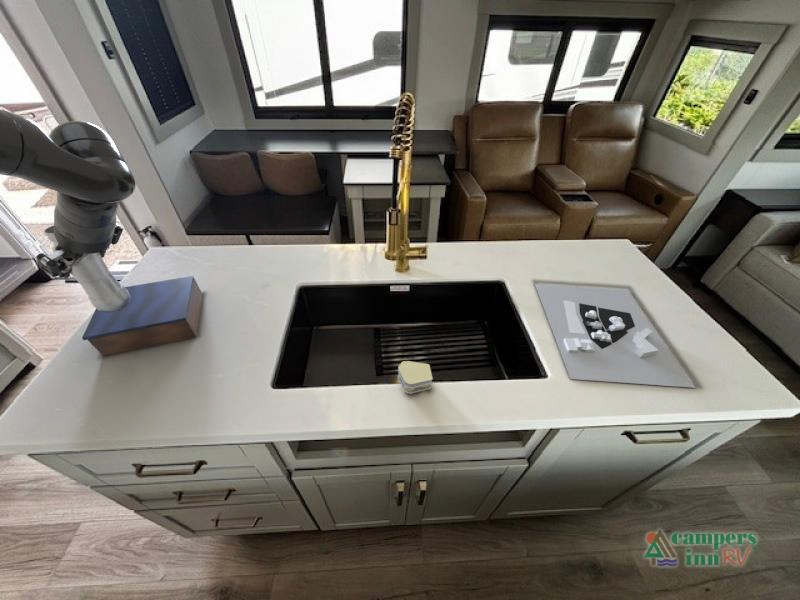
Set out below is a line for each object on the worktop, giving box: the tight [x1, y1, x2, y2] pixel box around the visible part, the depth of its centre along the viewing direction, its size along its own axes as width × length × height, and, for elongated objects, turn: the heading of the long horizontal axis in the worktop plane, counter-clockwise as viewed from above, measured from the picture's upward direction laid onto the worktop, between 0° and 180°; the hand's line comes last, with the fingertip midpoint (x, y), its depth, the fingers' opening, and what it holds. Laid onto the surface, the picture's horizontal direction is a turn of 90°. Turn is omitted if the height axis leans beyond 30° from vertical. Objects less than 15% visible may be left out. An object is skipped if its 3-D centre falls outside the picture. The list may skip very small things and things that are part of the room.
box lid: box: [81, 275, 195, 341], centre depth 80 cm, size 20×17×1 cm
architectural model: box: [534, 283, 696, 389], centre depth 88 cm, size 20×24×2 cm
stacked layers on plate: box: [397, 360, 434, 395], centre depth 72 cm, size 10×9×6 cm
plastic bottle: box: [43, 225, 131, 313], centre depth 67 cm, size 6×7×20 cm
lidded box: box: [87, 278, 203, 357], centre depth 83 cm, size 20×17×7 cm
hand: (80, 264), depth 66 cm, fingers closed on plastic bottle, 6 cm apart
